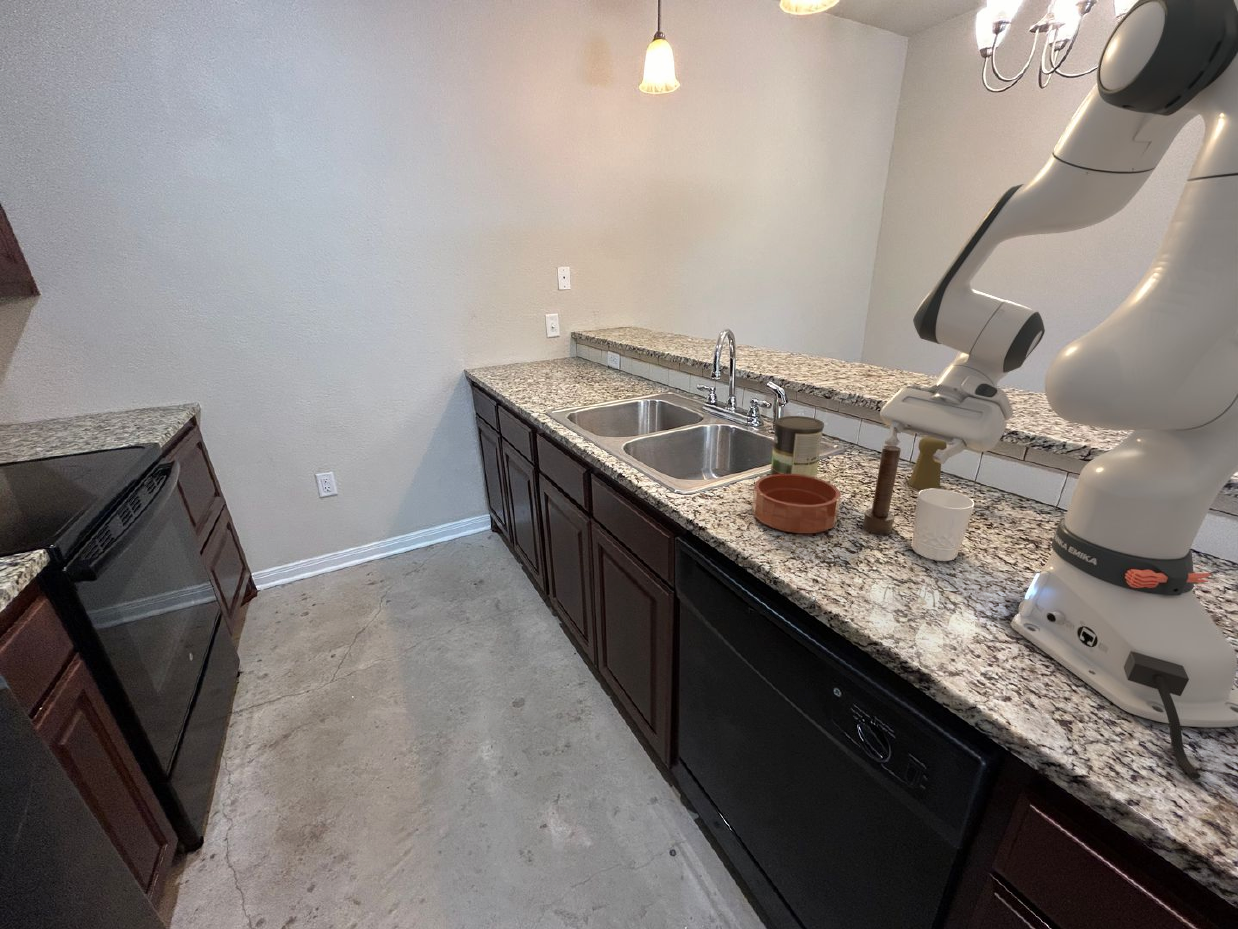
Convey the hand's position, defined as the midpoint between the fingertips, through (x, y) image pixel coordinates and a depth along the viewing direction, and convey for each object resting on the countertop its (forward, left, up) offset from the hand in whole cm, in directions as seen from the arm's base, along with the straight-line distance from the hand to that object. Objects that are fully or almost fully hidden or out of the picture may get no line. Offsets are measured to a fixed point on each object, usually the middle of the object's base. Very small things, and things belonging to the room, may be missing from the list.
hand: (912, 452), depth 90 cm
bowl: (+2, +19, -14) cm, 24 cm away
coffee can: (+20, +14, -14) cm, 29 cm away
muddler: (-3, +5, -14) cm, 15 cm away
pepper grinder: (+17, -14, -14) cm, 26 cm away
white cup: (-11, -1, -14) cm, 18 cm away
